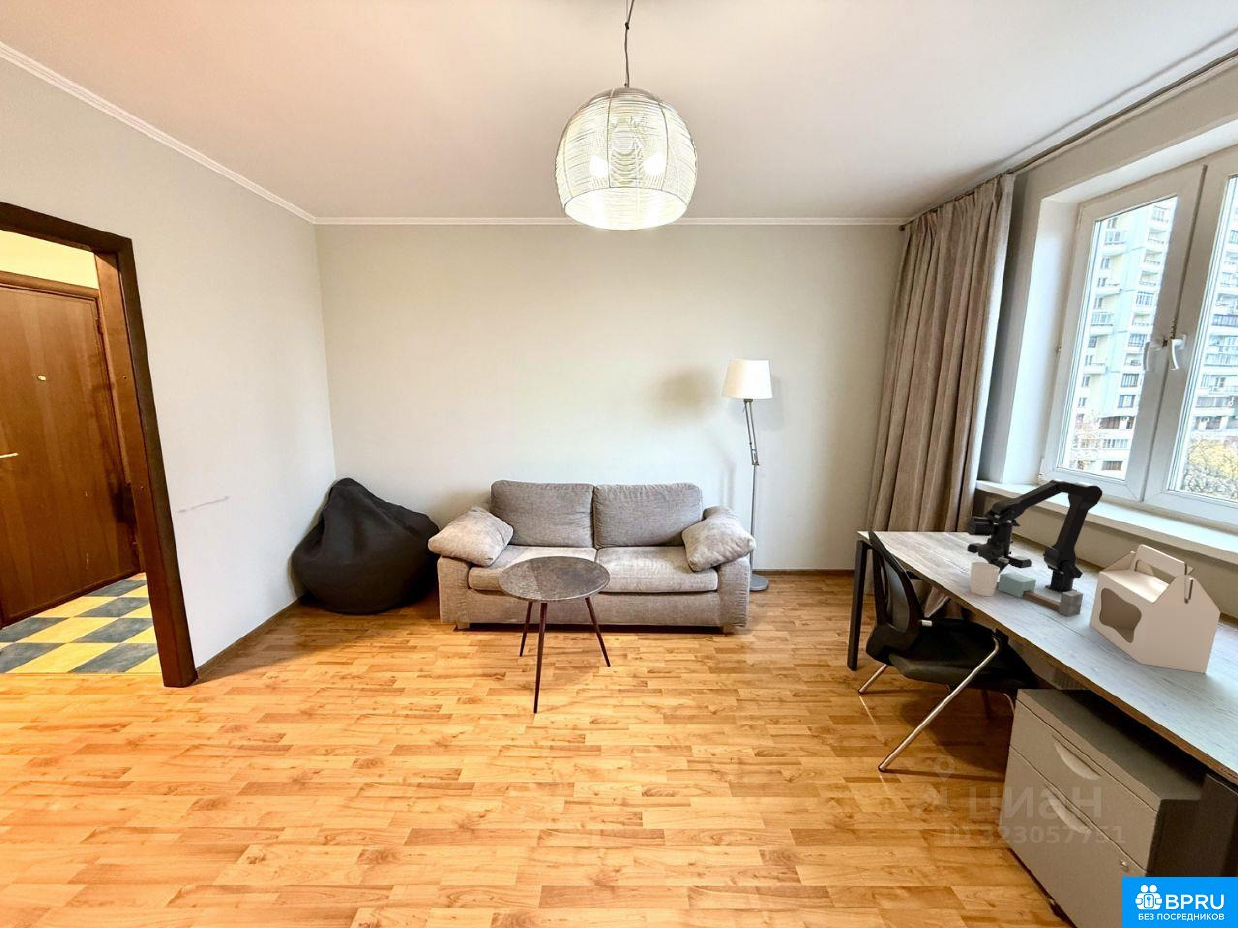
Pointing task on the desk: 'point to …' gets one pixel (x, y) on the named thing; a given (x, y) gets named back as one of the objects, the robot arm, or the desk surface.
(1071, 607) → the rail
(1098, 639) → the desk surface
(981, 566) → the white cup
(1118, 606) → the gable box
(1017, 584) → the block
